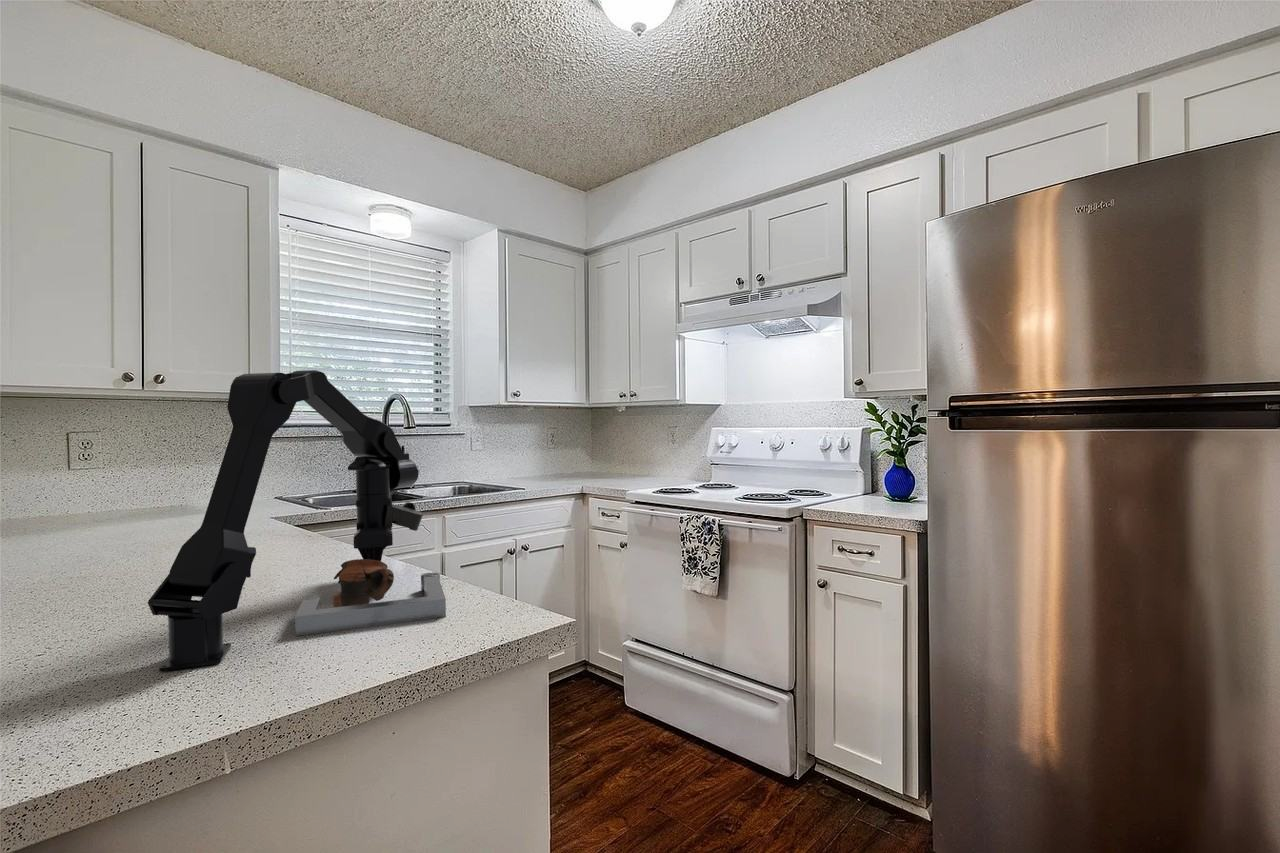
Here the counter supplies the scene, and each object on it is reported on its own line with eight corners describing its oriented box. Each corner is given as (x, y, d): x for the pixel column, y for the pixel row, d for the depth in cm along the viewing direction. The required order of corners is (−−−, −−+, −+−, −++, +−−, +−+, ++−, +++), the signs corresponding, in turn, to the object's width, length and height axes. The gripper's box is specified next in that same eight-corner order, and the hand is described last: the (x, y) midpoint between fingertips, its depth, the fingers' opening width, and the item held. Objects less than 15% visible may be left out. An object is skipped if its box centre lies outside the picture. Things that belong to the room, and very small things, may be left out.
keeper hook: (448, 616, 97) (448, 598, 97) (295, 636, 89) (295, 616, 89) (439, 586, 113) (438, 571, 113) (309, 601, 105) (309, 585, 105)
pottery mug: (315, 611, 101) (324, 562, 105) (360, 621, 109) (366, 575, 113) (371, 599, 97) (378, 548, 101) (413, 610, 105) (418, 562, 109)
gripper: (422, 496, 109) (423, 584, 110) (417, 485, 126) (418, 561, 127) (352, 500, 105) (354, 592, 105) (357, 488, 122) (358, 567, 123)
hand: (375, 576), depth 115 cm, fingers closed
